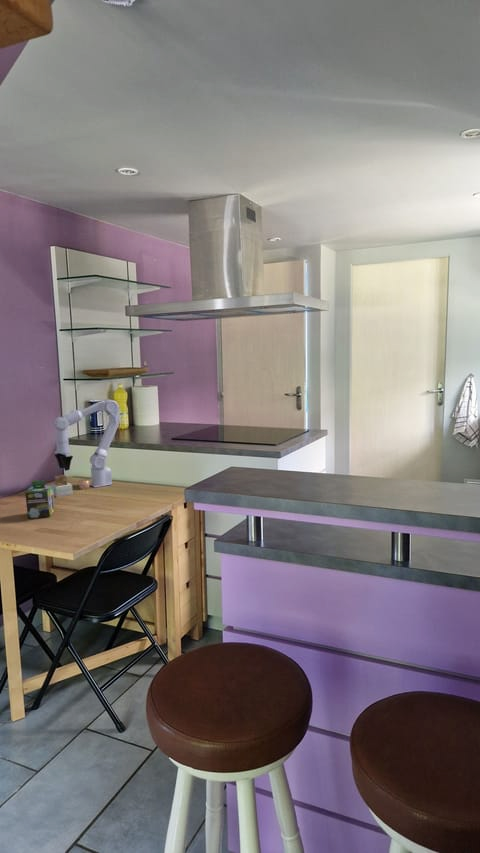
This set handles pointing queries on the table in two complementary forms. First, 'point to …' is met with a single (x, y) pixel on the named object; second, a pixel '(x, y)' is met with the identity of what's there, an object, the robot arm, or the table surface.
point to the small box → (62, 490)
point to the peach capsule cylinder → (84, 484)
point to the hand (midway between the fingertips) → (64, 469)
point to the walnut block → (60, 480)
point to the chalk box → (40, 500)
